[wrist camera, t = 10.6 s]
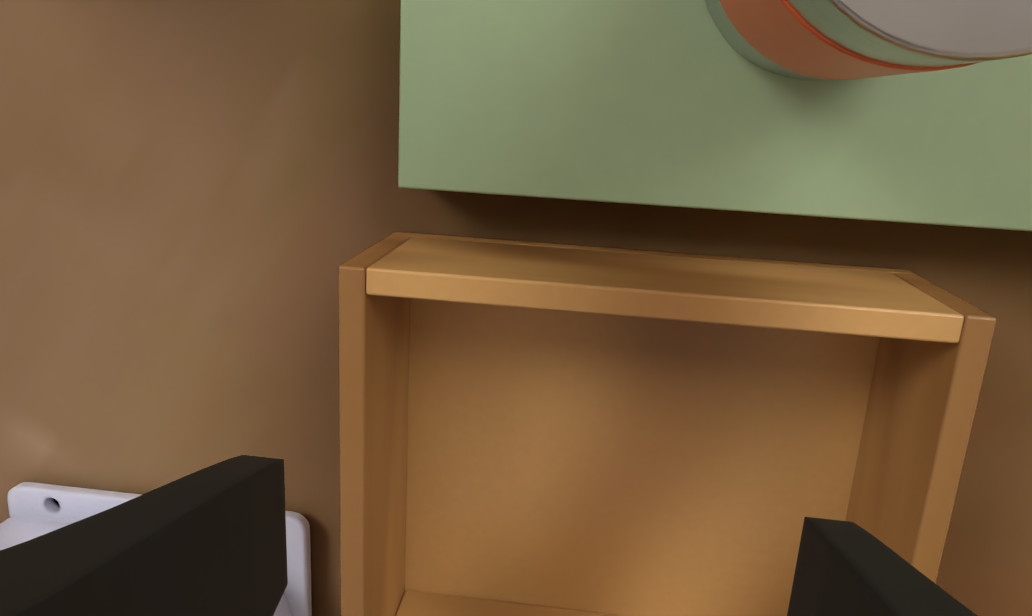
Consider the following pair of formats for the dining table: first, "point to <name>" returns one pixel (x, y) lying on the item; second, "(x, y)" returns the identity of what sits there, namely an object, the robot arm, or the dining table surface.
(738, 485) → the wooden box
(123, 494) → the robot arm
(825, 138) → the stand
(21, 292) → the dining table surface
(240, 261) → the dining table surface
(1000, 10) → the can
